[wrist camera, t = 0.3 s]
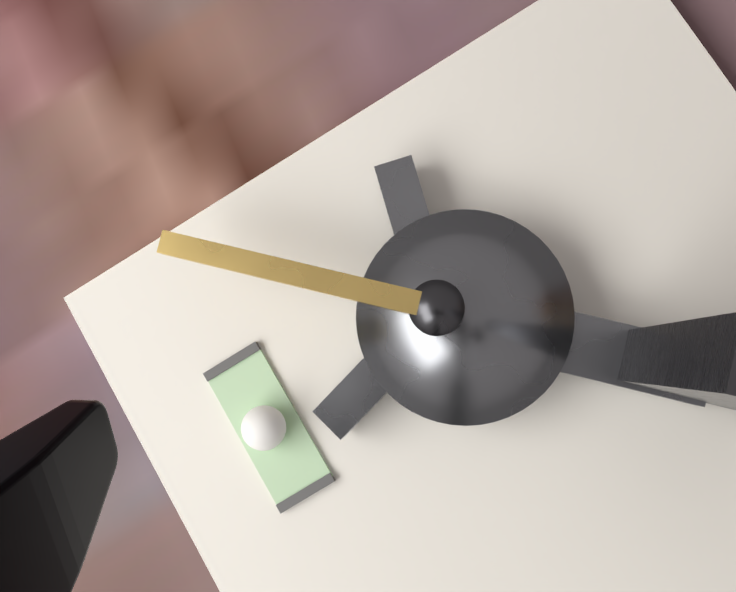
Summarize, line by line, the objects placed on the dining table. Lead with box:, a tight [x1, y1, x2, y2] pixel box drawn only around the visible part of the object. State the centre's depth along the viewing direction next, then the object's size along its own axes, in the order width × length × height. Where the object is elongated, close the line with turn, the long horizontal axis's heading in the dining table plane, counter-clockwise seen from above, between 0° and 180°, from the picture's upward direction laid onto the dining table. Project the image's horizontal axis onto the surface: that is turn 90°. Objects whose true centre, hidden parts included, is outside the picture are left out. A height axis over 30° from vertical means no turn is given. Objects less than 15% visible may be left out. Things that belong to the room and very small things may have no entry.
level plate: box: [64, 0, 736, 592], centre depth 22 cm, size 20×22×2 cm
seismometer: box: [157, 155, 736, 440], centre depth 17 cm, size 19×9×9 cm, turn 76°
